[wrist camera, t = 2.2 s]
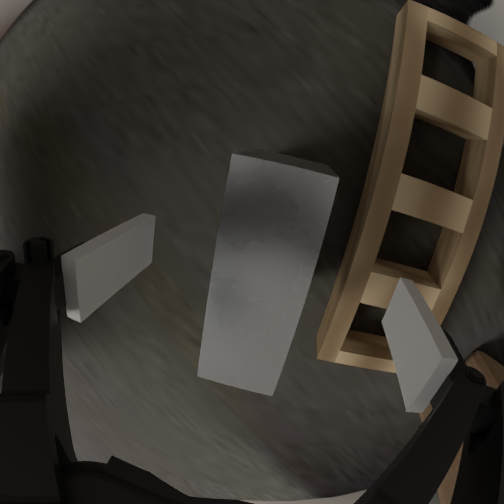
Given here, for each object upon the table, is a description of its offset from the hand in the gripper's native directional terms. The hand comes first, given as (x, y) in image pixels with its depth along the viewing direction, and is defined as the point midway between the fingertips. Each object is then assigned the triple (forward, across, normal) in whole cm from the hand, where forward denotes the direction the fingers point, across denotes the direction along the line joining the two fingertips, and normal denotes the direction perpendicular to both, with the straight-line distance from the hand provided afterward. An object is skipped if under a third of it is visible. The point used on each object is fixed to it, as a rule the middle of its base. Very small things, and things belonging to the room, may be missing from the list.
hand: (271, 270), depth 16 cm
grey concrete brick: (+9, 0, 0) cm, 9 cm away
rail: (+9, +10, +5) cm, 14 cm away
